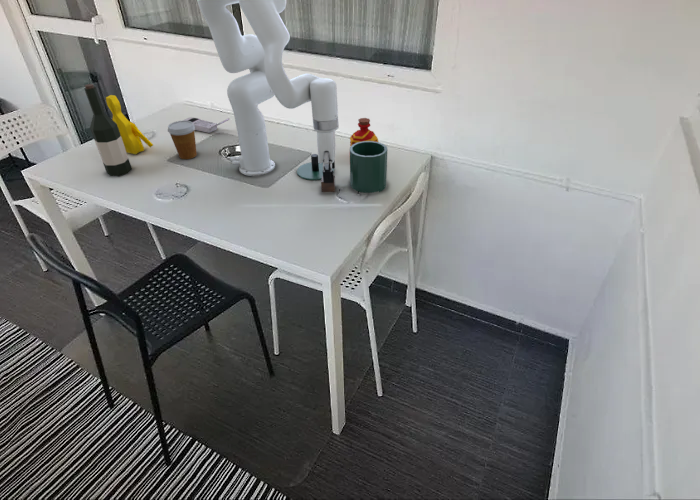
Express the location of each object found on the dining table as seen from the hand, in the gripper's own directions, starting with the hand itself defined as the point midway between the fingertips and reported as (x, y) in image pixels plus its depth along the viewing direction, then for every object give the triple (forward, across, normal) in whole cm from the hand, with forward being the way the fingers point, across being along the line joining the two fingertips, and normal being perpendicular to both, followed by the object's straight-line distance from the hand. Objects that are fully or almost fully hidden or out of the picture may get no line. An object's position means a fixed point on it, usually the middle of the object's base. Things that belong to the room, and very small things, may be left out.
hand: (329, 175), depth 144 cm
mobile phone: (+1, -52, -55) cm, 76 cm away
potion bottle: (+6, -22, +11) cm, 26 cm away
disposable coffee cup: (+4, -27, -55) cm, 61 cm away
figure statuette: (+4, -31, -77) cm, 83 cm away
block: (+6, 0, -1) cm, 6 cm away
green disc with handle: (+5, -12, -6) cm, 14 cm away
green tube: (+6, -3, +12) cm, 14 cm away
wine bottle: (+4, -15, -76) cm, 77 cm away
